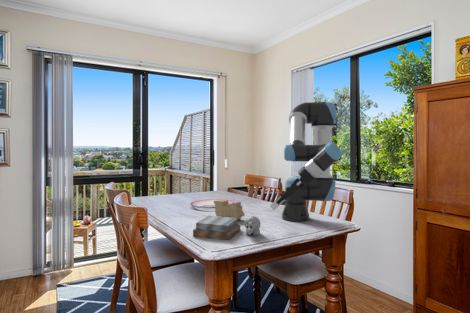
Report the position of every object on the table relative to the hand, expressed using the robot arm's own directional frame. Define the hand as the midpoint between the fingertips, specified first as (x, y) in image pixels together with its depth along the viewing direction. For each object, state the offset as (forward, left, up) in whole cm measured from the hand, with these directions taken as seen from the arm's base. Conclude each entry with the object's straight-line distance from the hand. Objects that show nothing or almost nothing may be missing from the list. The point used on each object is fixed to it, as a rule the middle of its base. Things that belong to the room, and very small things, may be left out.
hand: (274, 205), depth 138 cm
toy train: (+31, -27, -15) cm, 44 cm away
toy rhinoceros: (+11, 0, -15) cm, 18 cm away
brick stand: (+27, +1, -15) cm, 30 cm away
